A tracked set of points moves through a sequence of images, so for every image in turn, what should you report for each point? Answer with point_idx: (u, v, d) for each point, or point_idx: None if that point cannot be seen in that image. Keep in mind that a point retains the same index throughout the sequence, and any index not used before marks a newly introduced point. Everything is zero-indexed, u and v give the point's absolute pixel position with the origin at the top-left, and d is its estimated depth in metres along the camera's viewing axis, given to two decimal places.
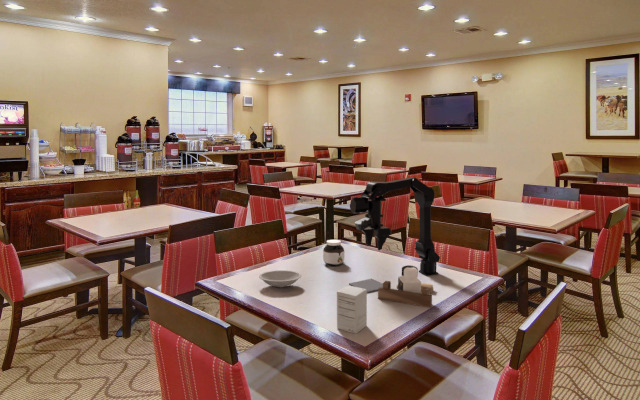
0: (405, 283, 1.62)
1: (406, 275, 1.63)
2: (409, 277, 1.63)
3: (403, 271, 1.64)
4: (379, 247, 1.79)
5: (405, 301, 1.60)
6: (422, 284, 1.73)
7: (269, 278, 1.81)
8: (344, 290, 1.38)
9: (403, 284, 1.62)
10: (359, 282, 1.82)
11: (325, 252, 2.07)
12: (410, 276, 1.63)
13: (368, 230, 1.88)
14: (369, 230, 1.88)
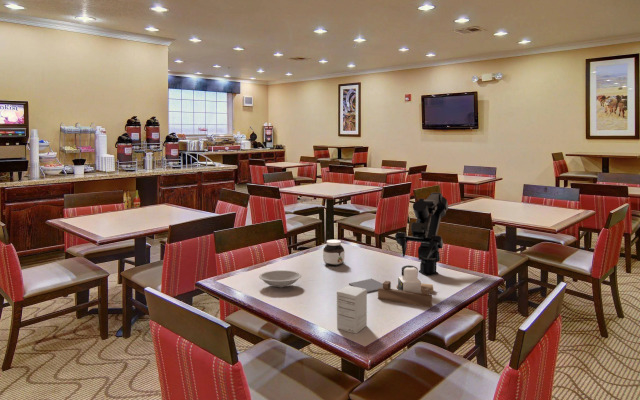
0: (405, 283, 1.62)
1: (406, 275, 1.63)
2: (409, 277, 1.63)
3: (403, 271, 1.64)
4: (428, 256, 1.70)
5: (405, 301, 1.60)
6: (422, 284, 1.73)
7: (269, 278, 1.81)
8: (344, 290, 1.38)
9: (403, 284, 1.62)
10: (359, 282, 1.82)
11: (325, 252, 2.07)
12: (410, 276, 1.63)
13: (405, 242, 1.77)
14: (405, 243, 1.78)
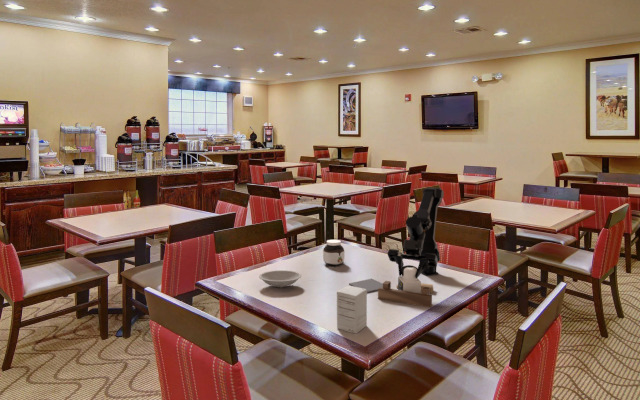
0: (405, 283, 1.62)
1: (406, 275, 1.63)
2: (409, 277, 1.63)
3: (403, 271, 1.64)
4: (418, 274, 1.62)
5: (405, 301, 1.60)
6: (422, 284, 1.73)
7: (269, 278, 1.81)
8: (344, 290, 1.38)
9: (403, 284, 1.62)
10: (359, 282, 1.82)
11: (325, 252, 2.07)
12: (410, 276, 1.63)
13: (402, 260, 1.69)
14: (402, 261, 1.69)
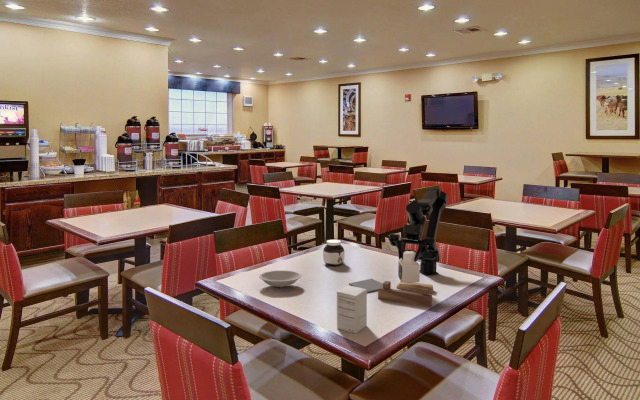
0: (404, 266, 1.67)
1: (405, 258, 1.68)
2: (408, 260, 1.68)
3: (402, 255, 1.69)
4: (417, 258, 1.67)
5: (405, 301, 1.60)
6: (422, 284, 1.73)
7: (269, 278, 1.81)
8: (344, 290, 1.38)
9: (402, 267, 1.68)
10: (359, 282, 1.82)
11: (325, 252, 2.07)
12: (409, 259, 1.68)
13: (402, 245, 1.74)
14: (402, 245, 1.74)
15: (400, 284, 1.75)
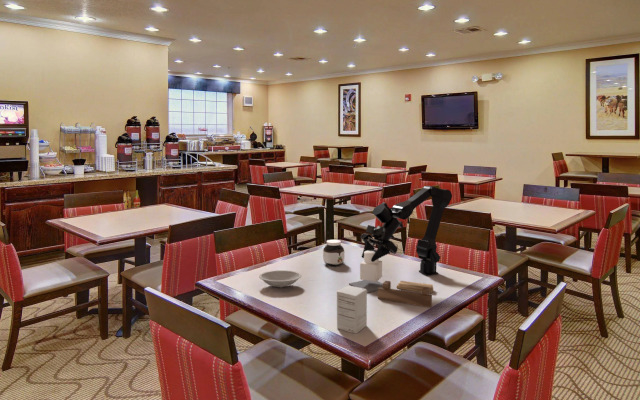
0: (362, 264, 1.76)
1: (365, 257, 1.76)
2: (366, 259, 1.76)
3: (364, 253, 1.78)
4: (374, 258, 1.74)
5: (405, 301, 1.60)
6: (422, 284, 1.73)
7: (269, 278, 1.81)
8: (344, 290, 1.38)
9: (360, 265, 1.77)
10: (359, 282, 1.82)
11: (325, 252, 2.07)
12: (367, 258, 1.75)
13: (370, 244, 1.81)
14: (371, 245, 1.81)
15: (400, 284, 1.75)
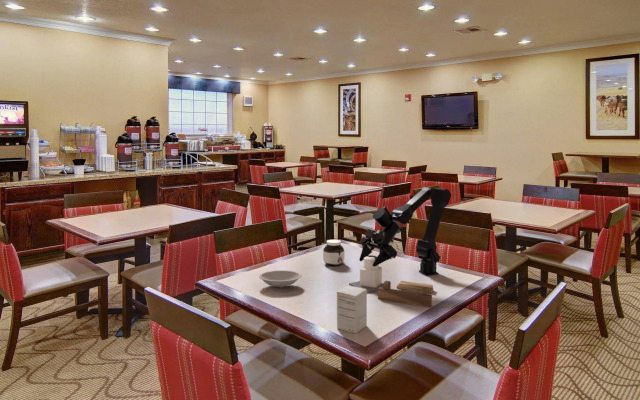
0: (362, 270, 1.76)
1: (364, 263, 1.77)
2: (366, 265, 1.76)
3: None
4: (375, 263, 1.73)
5: (405, 301, 1.60)
6: (422, 284, 1.73)
7: (269, 278, 1.81)
8: (344, 290, 1.38)
9: (360, 271, 1.77)
10: (359, 282, 1.82)
11: (325, 252, 2.07)
12: (367, 264, 1.76)
13: (368, 248, 1.83)
14: (368, 249, 1.83)
15: (400, 284, 1.75)
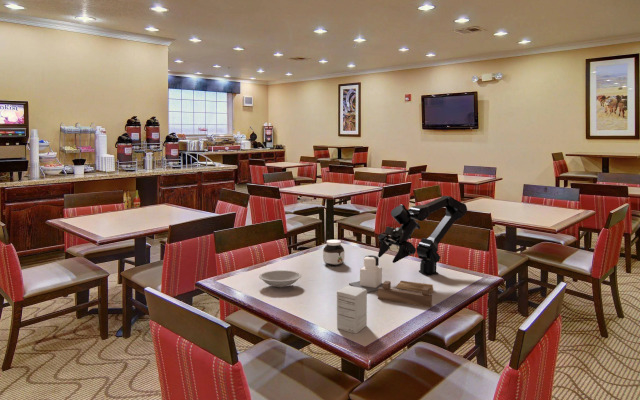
0: (362, 270, 1.76)
1: (364, 263, 1.77)
2: (366, 265, 1.76)
3: (364, 259, 1.78)
4: (395, 260, 1.78)
5: (405, 301, 1.60)
6: (422, 284, 1.73)
7: (269, 278, 1.81)
8: (344, 290, 1.38)
9: (360, 271, 1.77)
10: (359, 282, 1.82)
11: (325, 252, 2.07)
12: (367, 264, 1.76)
13: (386, 244, 1.88)
14: (386, 245, 1.88)
15: (400, 284, 1.75)
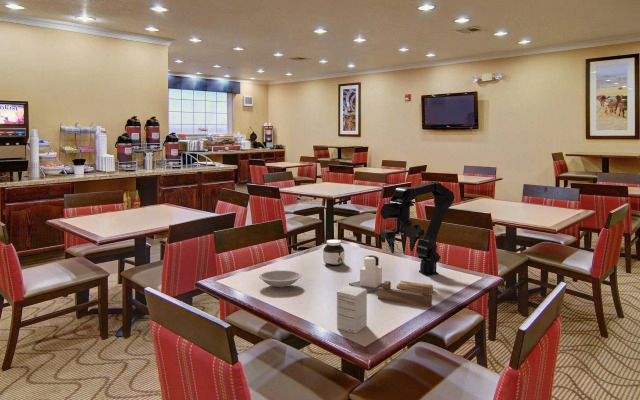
0: (362, 270, 1.76)
1: (364, 263, 1.77)
2: (366, 265, 1.76)
3: (364, 259, 1.78)
4: None
5: (405, 301, 1.60)
6: (422, 284, 1.73)
7: (269, 278, 1.81)
8: (344, 290, 1.38)
9: (360, 271, 1.77)
10: (359, 282, 1.82)
11: (325, 252, 2.07)
12: (367, 264, 1.76)
13: None
14: None
15: (400, 284, 1.75)
